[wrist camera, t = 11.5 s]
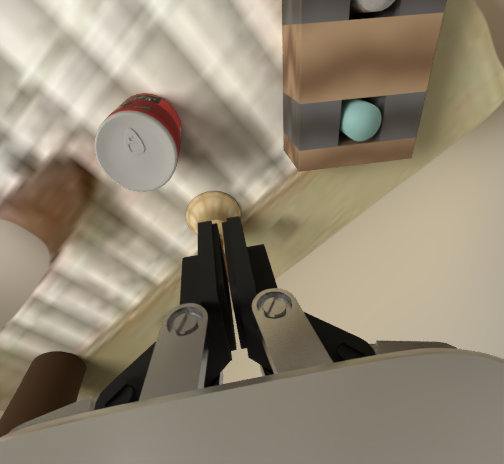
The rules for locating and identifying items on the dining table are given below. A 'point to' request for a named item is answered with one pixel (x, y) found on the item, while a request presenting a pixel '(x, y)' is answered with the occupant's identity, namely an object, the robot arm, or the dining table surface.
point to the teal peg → (359, 119)
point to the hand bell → (212, 212)
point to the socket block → (355, 77)
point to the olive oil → (44, 389)
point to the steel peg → (368, 5)
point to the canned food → (140, 143)
